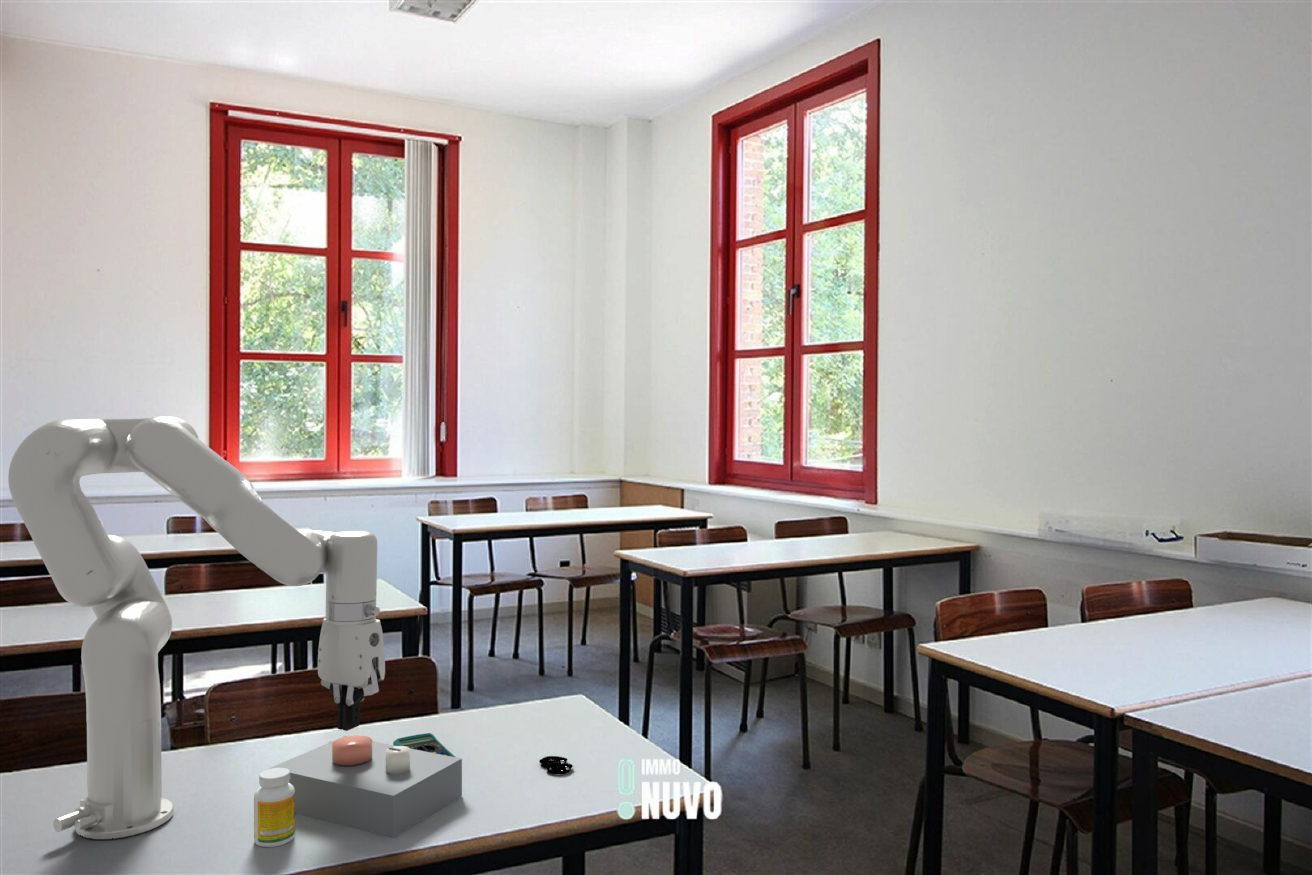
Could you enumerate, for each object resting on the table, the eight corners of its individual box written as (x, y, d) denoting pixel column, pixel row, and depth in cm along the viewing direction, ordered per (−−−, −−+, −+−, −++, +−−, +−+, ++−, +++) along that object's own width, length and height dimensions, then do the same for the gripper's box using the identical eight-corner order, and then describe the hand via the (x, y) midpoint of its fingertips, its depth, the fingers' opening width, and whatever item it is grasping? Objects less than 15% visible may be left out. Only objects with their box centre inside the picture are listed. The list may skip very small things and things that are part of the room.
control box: (393, 837, 134) (393, 795, 134) (270, 806, 145) (269, 767, 144) (461, 796, 149) (461, 758, 149) (345, 771, 159) (345, 735, 159)
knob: (399, 775, 142) (399, 754, 142) (380, 771, 143) (380, 750, 143) (414, 767, 145) (414, 746, 145) (396, 763, 146) (396, 743, 146)
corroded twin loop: (548, 778, 157) (549, 772, 157) (535, 763, 164) (535, 756, 164) (577, 774, 159) (577, 768, 159) (562, 759, 166) (562, 753, 166)
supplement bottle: (247, 839, 133) (247, 772, 133) (284, 827, 137) (284, 762, 137) (264, 852, 130) (264, 783, 129) (302, 839, 134) (301, 772, 133)
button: (353, 784, 144) (353, 751, 144) (323, 777, 146) (323, 745, 146) (380, 770, 149) (380, 739, 149) (351, 764, 152) (351, 733, 152)
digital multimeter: (416, 781, 156) (416, 763, 156) (392, 753, 169) (392, 737, 169) (459, 773, 160) (459, 756, 160) (432, 746, 172) (432, 730, 172)
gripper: (404, 612, 147) (402, 728, 148) (332, 601, 154) (329, 713, 154) (371, 620, 141) (369, 742, 141) (296, 609, 147) (294, 726, 147)
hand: (348, 727), depth 148 cm, fingers closed
